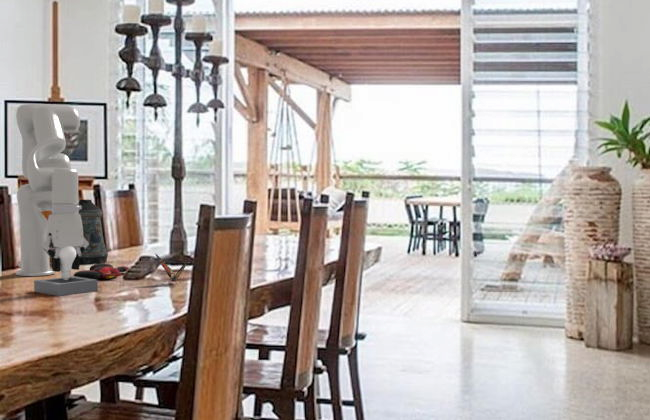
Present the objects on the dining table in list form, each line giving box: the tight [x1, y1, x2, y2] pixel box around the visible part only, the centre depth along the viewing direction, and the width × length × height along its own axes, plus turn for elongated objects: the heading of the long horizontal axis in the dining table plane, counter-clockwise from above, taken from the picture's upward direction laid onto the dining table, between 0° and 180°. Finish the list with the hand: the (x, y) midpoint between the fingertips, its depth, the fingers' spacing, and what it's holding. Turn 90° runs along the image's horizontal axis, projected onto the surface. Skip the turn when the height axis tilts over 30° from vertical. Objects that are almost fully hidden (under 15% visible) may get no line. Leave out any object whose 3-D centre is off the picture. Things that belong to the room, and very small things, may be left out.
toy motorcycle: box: [73, 263, 130, 281], centre depth 259 cm, size 25×5×16 cm
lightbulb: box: [58, 246, 76, 280], centre depth 226 cm, size 6×6×11 cm
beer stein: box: [78, 199, 109, 265], centre depth 303 cm, size 16×19×25 cm
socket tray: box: [33, 275, 99, 297], centre depth 226 cm, size 13×13×3 cm
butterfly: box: [155, 253, 193, 286], centre depth 241 cm, size 12×10×10 cm
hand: (65, 269), depth 226 cm, fingers closed on lightbulb, 5 cm apart
